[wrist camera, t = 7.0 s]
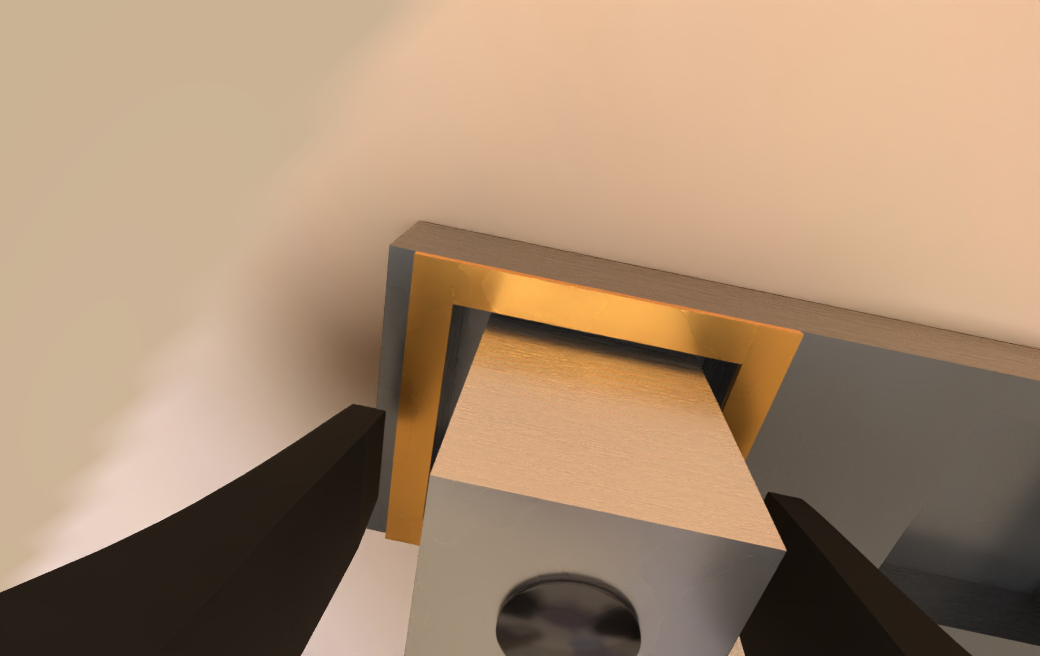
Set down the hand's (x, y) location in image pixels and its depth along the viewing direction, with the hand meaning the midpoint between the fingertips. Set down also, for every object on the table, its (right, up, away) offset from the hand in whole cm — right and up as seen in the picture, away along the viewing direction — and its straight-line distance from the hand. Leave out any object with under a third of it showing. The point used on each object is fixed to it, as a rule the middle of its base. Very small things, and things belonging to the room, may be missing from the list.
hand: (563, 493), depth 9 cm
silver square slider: (0, +2, +3) cm, 3 cm away
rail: (+5, 0, +3) cm, 6 cm away
